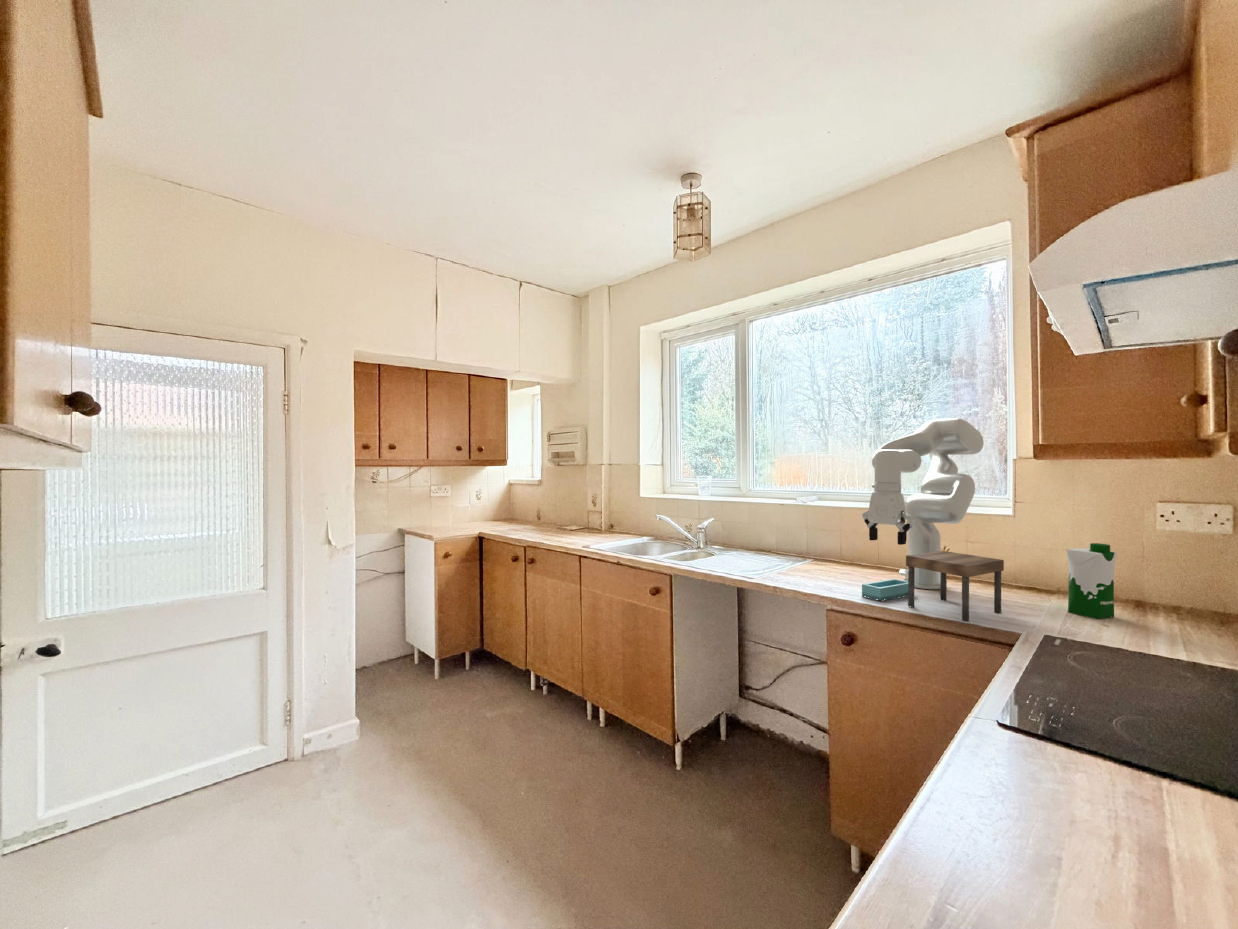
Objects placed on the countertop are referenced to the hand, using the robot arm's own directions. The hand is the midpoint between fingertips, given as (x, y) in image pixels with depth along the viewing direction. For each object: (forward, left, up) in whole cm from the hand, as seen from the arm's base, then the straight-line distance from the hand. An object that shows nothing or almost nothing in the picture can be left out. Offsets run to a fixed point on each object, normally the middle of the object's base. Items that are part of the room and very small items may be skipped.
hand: (887, 542), depth 162 cm
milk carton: (+39, +32, -17) cm, 53 cm away
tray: (0, 0, -17) cm, 17 cm away
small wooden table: (+18, +3, -17) cm, 25 cm away
